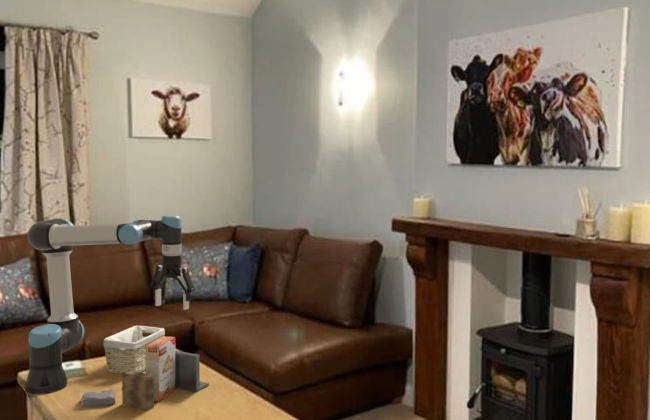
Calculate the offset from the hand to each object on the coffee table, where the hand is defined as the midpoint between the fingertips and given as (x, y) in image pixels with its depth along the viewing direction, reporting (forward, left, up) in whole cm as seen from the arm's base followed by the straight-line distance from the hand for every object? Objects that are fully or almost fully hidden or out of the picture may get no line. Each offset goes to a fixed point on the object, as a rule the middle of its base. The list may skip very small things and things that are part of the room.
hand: (172, 307), depth 254 cm
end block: (+6, -26, -30) cm, 40 cm away
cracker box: (+6, -13, -31) cm, 34 cm away
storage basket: (-26, +7, -31) cm, 41 cm away
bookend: (+9, -1, -30) cm, 31 cm away
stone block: (-10, -29, -31) cm, 44 cm away
